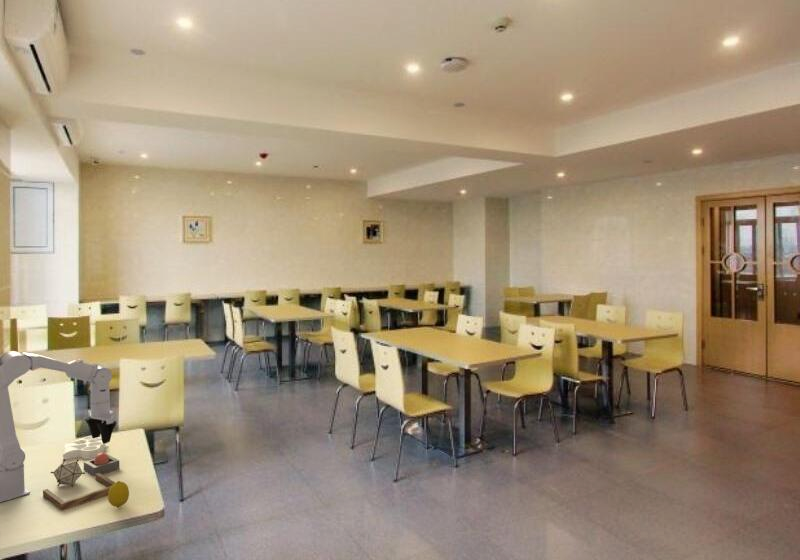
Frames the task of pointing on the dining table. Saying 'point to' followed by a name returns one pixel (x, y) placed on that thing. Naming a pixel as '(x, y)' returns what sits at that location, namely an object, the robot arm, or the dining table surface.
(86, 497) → the brown wooden u shape
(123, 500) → the lemon
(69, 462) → the game die
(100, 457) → the salmon ball
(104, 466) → the dome housing
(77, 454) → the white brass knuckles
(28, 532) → the dining table surface
